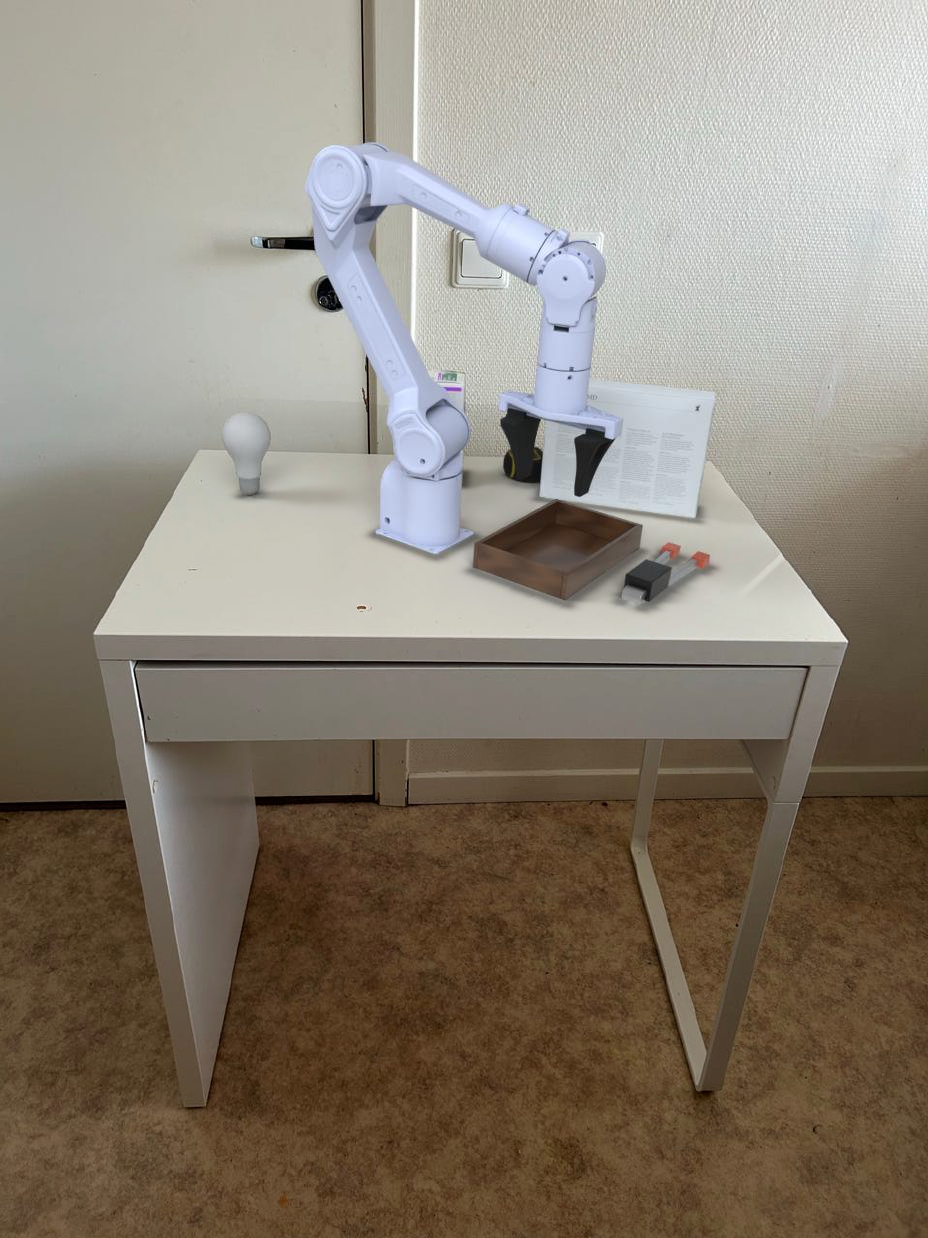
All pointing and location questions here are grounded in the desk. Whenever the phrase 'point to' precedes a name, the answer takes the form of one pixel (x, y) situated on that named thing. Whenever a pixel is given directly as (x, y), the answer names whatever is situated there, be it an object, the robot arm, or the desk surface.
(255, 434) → the lightbulb
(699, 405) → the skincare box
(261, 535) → the desk surface
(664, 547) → the tongs
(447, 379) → the syrup box
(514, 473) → the tape measure
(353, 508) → the desk surface
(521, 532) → the tray
